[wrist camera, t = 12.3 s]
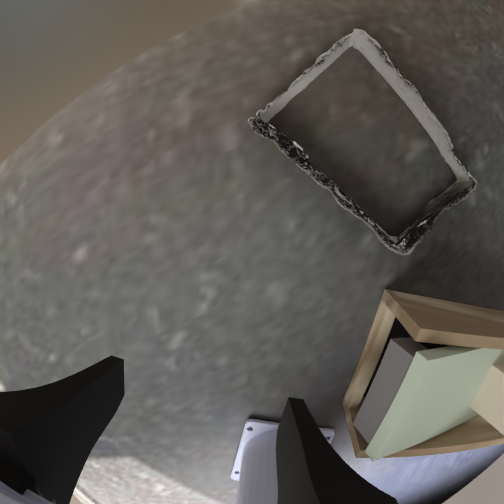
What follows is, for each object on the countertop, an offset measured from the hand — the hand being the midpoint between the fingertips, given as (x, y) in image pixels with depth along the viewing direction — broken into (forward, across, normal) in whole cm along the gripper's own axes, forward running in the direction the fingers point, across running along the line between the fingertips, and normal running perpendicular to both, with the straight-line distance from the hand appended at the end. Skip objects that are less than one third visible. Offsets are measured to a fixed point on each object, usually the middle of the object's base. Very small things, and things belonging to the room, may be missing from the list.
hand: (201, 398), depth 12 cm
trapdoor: (+8, -17, +2) cm, 19 cm away
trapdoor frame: (+10, -19, +2) cm, 22 cm away
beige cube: (+7, -22, +2) cm, 23 cm away
